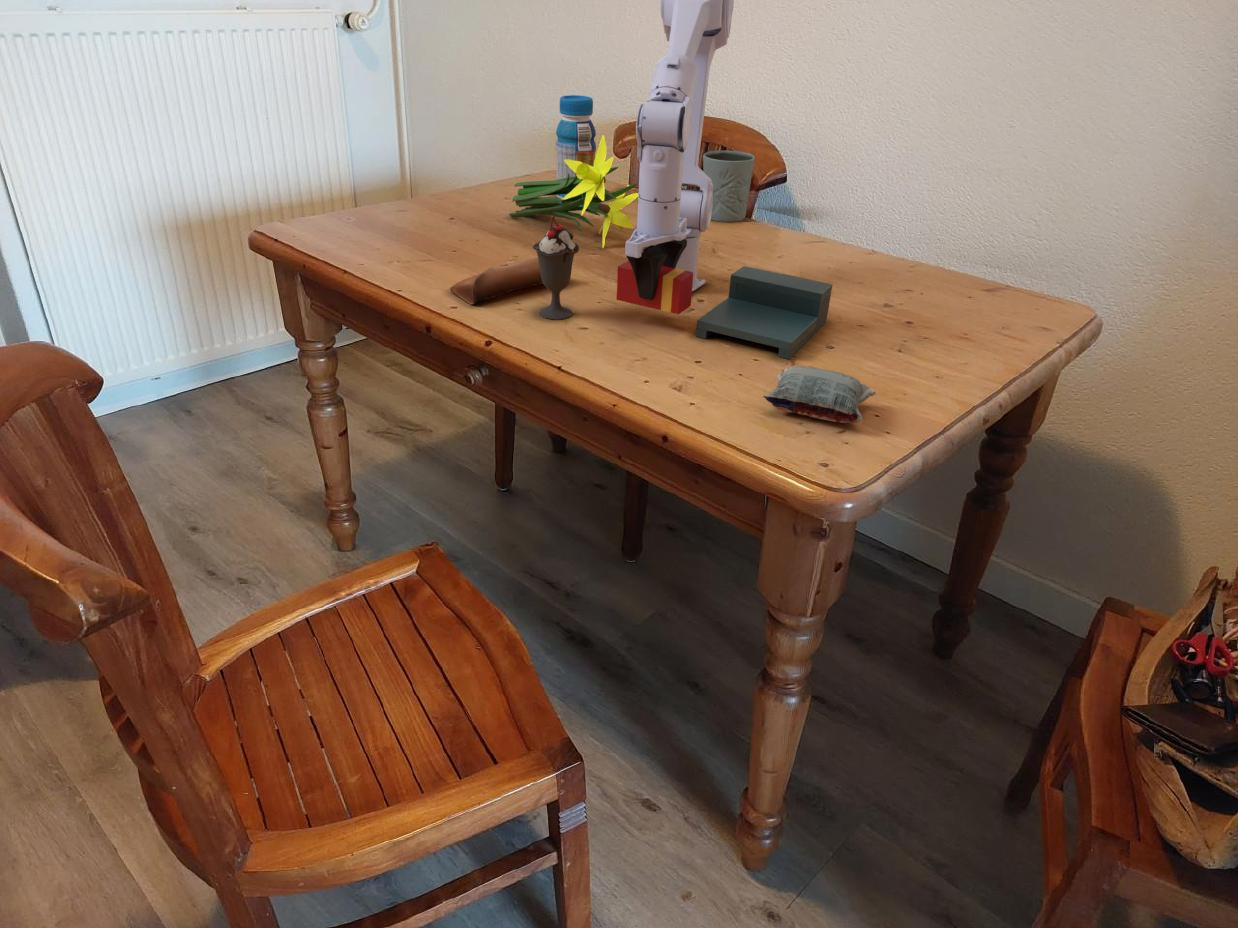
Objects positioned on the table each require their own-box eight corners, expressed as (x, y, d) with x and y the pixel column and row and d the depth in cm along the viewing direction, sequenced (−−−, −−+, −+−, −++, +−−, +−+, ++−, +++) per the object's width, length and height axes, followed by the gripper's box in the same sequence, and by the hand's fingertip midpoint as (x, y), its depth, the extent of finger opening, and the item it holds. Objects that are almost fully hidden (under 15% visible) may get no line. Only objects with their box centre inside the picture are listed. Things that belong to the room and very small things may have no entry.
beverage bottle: (551, 201, 183) (551, 99, 173) (560, 191, 190) (560, 93, 180) (590, 204, 182) (592, 102, 172) (598, 194, 189) (600, 95, 179)
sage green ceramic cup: (750, 224, 174) (757, 162, 167) (699, 222, 174) (705, 159, 167) (745, 210, 182) (751, 151, 176) (696, 208, 182) (701, 149, 176)
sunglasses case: (538, 266, 145) (550, 237, 140) (560, 297, 144) (574, 269, 138) (445, 288, 135) (455, 258, 130) (468, 322, 133) (479, 292, 128)
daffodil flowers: (566, 210, 181) (681, 201, 154) (523, 259, 176) (635, 258, 150) (518, 142, 171) (632, 119, 144) (471, 192, 166) (580, 178, 140)
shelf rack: (695, 336, 124) (699, 296, 121) (739, 303, 136) (743, 265, 133) (789, 359, 118) (795, 318, 115) (826, 322, 130) (832, 284, 127)
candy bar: (616, 300, 125) (617, 266, 123) (629, 292, 128) (631, 258, 126) (678, 315, 121) (681, 280, 119) (691, 306, 124) (693, 272, 122)
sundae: (544, 325, 125) (543, 221, 117) (526, 309, 130) (524, 208, 123) (585, 318, 128) (587, 216, 120) (566, 303, 133) (567, 204, 125)
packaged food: (779, 385, 111) (784, 350, 108) (873, 406, 107) (881, 369, 104) (760, 415, 104) (764, 377, 101) (859, 438, 100) (867, 400, 97)
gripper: (661, 214, 110) (655, 315, 117) (709, 190, 121) (701, 284, 128) (612, 205, 113) (609, 304, 120) (663, 182, 124) (658, 275, 131)
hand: (653, 293), depth 124 cm, fingers closed on candy bar, 4 cm apart
